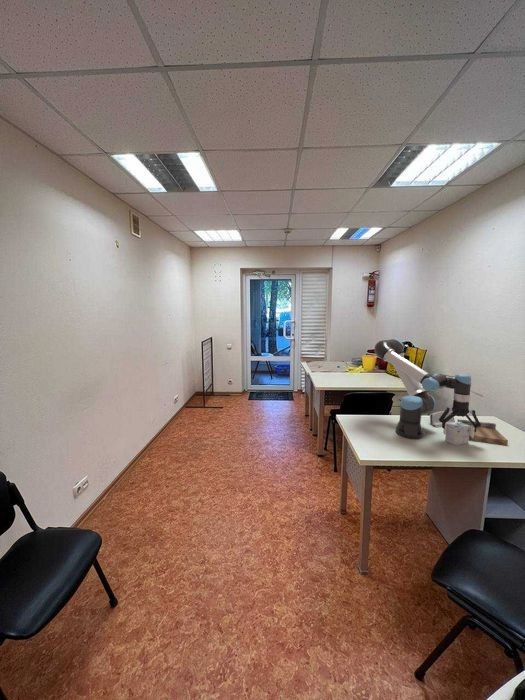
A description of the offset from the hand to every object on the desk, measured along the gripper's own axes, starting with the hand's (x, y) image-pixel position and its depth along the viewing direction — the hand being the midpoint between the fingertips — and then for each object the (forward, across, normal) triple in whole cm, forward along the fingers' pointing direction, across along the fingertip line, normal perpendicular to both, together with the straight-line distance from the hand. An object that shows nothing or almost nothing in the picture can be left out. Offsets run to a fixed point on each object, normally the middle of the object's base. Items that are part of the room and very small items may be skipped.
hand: (458, 435), depth 160 cm
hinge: (+4, -2, +26) cm, 26 cm away
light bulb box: (+4, 0, 0) cm, 5 cm away
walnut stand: (+4, +16, +14) cm, 22 cm away
